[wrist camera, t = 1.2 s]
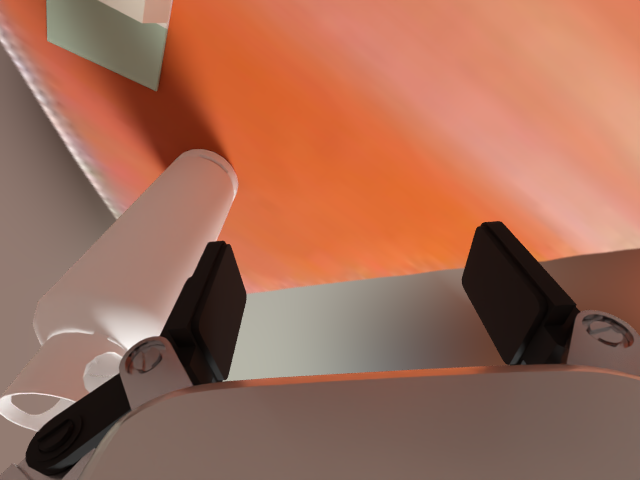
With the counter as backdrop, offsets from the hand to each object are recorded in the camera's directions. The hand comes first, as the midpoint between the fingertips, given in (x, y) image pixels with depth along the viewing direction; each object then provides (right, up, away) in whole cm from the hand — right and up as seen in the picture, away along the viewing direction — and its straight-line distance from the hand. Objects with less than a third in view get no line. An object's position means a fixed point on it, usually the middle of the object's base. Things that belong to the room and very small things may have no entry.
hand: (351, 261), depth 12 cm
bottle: (-16, +8, +26) cm, 32 cm away
